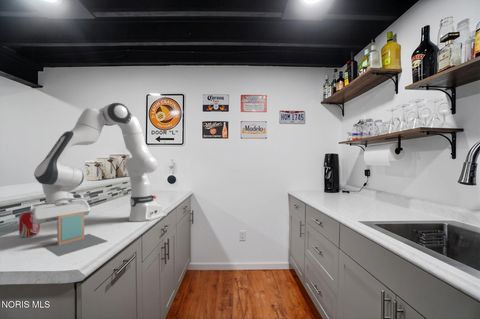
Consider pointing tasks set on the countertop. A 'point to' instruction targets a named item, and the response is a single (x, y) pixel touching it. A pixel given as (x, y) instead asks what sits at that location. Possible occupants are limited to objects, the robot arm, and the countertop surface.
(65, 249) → the mat
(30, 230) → the soda can
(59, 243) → the tile
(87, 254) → the countertop surface
